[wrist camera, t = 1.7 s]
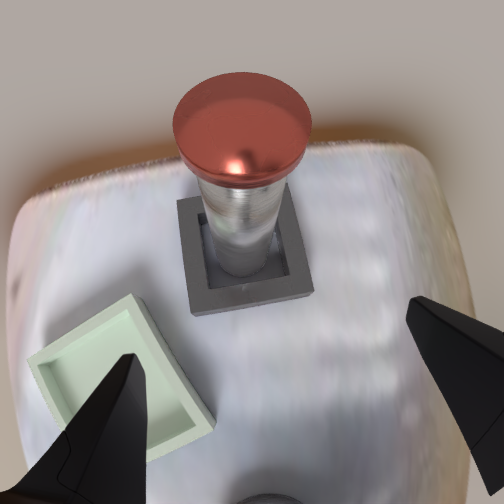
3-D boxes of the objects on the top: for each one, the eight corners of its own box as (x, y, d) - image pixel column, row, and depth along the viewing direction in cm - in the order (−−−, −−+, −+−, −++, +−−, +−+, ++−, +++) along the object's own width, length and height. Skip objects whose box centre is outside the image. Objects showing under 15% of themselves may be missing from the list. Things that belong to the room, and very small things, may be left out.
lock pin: (282, 240, 24) (329, 100, 10) (255, 293, 23) (275, 198, 9) (230, 214, 25) (218, 60, 11) (200, 264, 24) (145, 141, 9)
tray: (216, 421, 20) (213, 430, 18) (106, 473, 18) (94, 483, 16) (142, 298, 23) (131, 292, 20) (43, 360, 21) (26, 359, 18)
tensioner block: (308, 296, 23) (314, 291, 21) (195, 316, 23) (190, 313, 21) (284, 194, 26) (287, 182, 24) (181, 211, 25) (176, 200, 23)
